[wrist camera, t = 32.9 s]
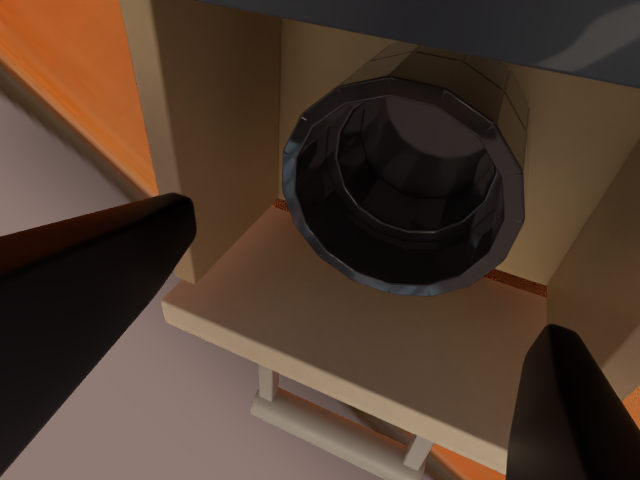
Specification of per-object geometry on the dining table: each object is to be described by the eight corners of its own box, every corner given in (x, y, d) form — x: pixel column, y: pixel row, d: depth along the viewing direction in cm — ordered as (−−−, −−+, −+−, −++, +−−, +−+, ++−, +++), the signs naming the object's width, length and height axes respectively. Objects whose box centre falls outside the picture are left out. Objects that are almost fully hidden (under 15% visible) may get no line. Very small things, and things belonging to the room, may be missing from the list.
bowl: (490, 229, 14) (473, 325, 11) (336, 183, 15) (279, 254, 12) (568, 54, 10) (577, 117, 7) (357, 15, 12) (284, 52, 8)
